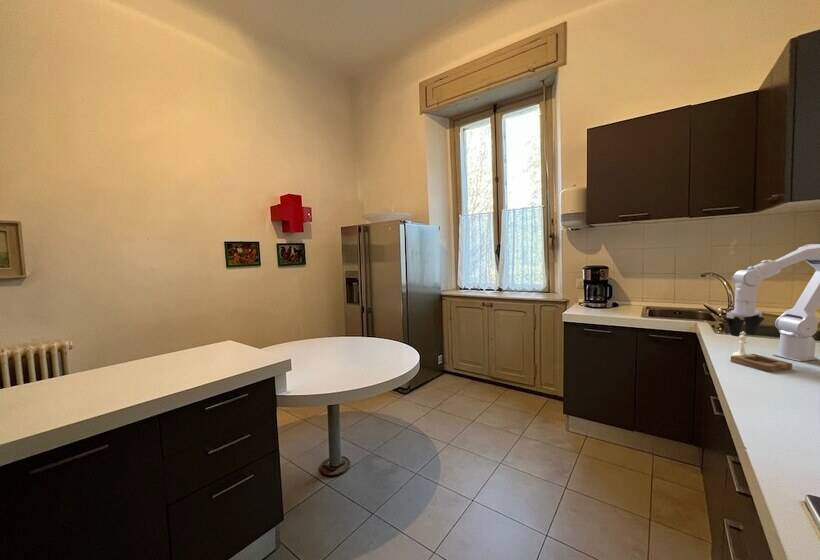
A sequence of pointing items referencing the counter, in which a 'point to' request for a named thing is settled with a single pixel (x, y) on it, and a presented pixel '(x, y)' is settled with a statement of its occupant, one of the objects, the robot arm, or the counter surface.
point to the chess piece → (741, 345)
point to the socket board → (761, 362)
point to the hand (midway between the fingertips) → (742, 335)
